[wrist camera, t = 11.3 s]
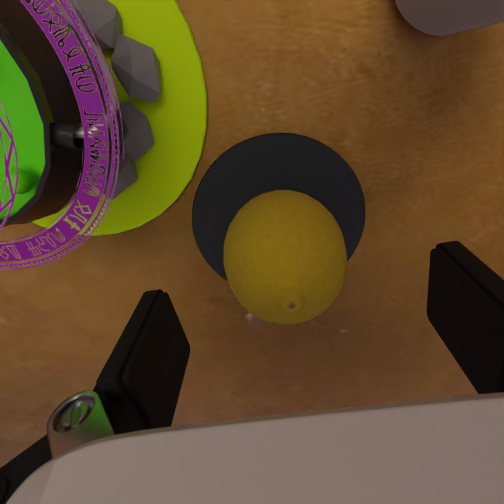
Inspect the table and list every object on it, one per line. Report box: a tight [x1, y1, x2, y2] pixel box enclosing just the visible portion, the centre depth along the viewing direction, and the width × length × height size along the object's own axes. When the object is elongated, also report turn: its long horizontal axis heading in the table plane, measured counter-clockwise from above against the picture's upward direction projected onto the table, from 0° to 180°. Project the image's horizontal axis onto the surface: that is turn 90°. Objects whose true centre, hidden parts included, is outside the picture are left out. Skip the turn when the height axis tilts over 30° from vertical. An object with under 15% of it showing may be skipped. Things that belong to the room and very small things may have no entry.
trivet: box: [192, 133, 365, 281], centre depth 19 cm, size 10×10×1 cm
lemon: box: [223, 190, 347, 325], centre depth 15 cm, size 6×6×8 cm
